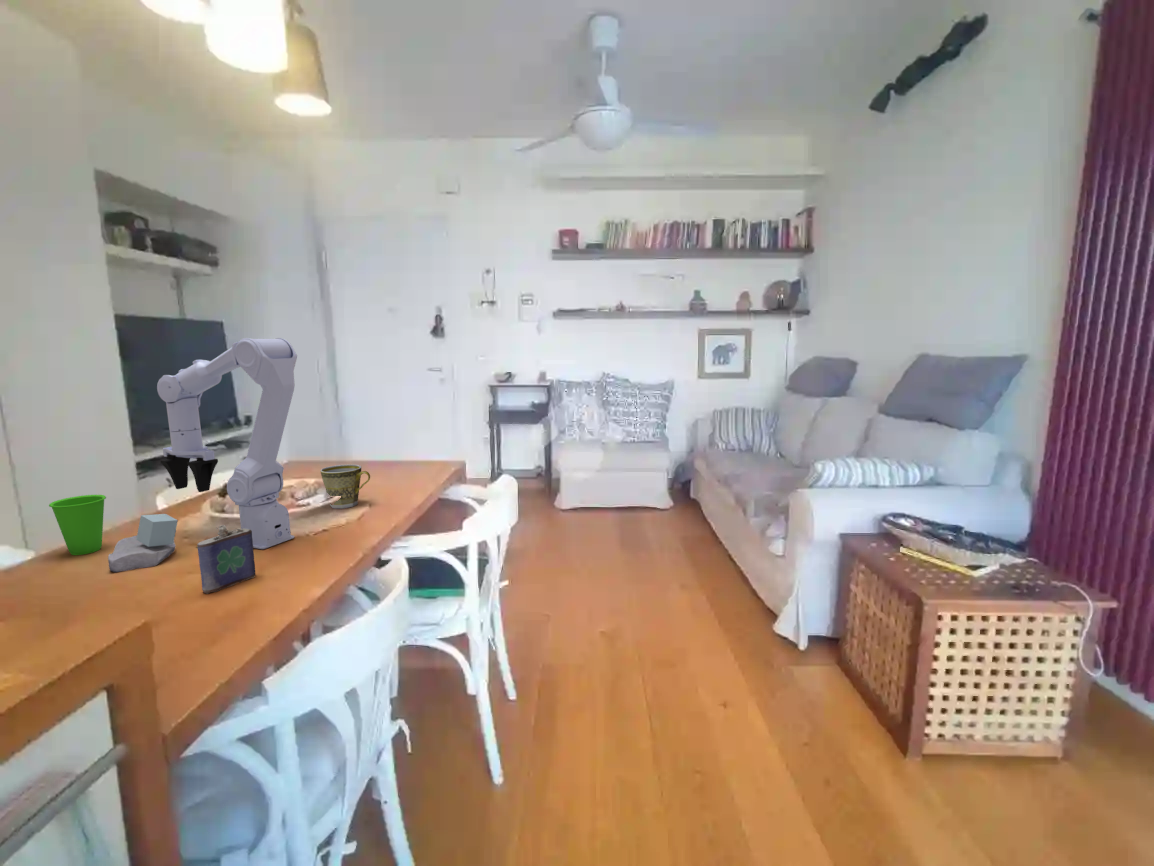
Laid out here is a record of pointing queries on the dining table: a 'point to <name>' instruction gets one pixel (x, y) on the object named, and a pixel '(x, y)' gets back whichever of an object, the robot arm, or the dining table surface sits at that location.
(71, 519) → the cup
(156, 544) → the cube
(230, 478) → the robot arm
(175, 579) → the dining table surface
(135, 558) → the stone block
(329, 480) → the ceramic cup
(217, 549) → the flask
